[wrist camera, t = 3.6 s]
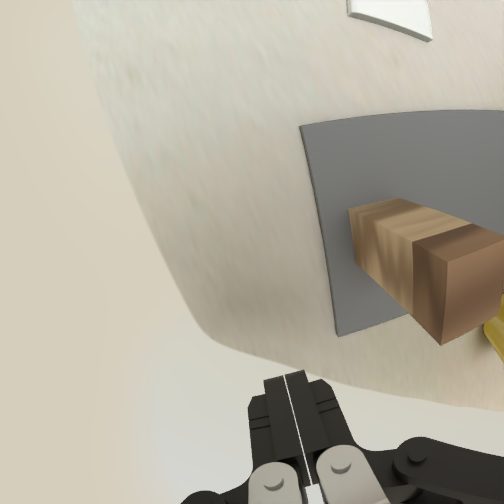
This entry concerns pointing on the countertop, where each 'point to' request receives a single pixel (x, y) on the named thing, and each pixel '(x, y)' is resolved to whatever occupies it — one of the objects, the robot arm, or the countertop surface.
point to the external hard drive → (395, 15)
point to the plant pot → (496, 331)
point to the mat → (399, 187)
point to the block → (431, 264)
